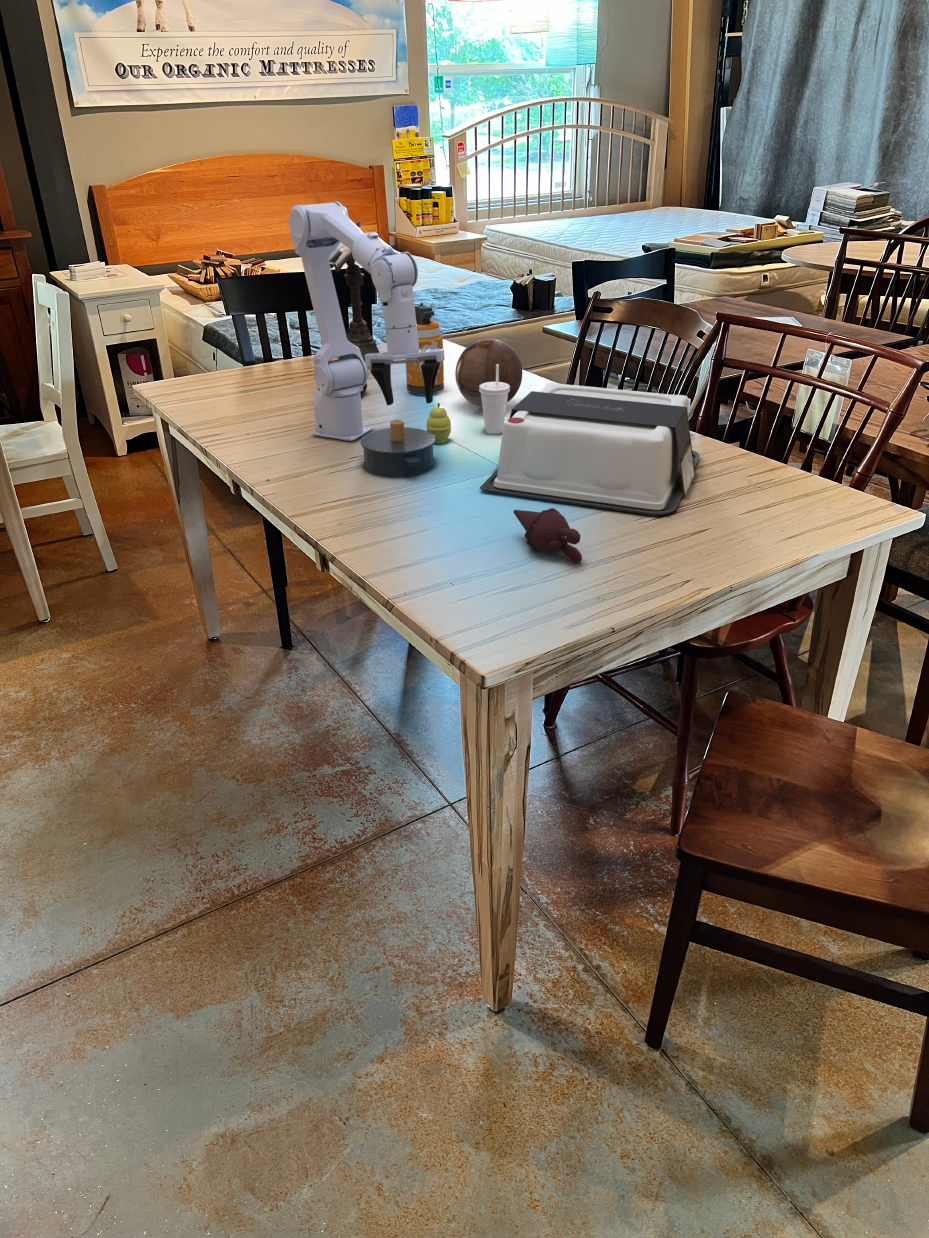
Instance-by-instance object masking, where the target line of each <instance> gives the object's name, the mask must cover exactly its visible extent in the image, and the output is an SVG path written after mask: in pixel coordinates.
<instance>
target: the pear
mask: <svg viewBox="0 0 929 1238" xmlns="http://www.w3.org/2000/svg"><path fill="white" fill-rule="evenodd" d="M425 423H426V431H428V432H430V433H432V434H433V435H434V437H435V443H434V444H439V445H440V444H445V443H447V442H448V438H449V437H450V435H451V431H452V423H451V419H450V417H449V416H448V413H447V411H446V409H445V408H444V407H443V406H441V403H440V402H438V403H437V406H434V407H432V409H431V410H430V412H429V416H428V417H427V419H426V422H425Z"/></svg>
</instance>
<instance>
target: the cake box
mask: <svg viewBox="0 0 929 1238" xmlns="http://www.w3.org/2000/svg"><path fill="white" fill-rule="evenodd" d="M499 448H500V449H499V455H498V464H497V468H496V470H495V471H494V472H493V473H492V474H491V475H490V476H489V477H488V478H487V479H486V480H485V481H484V482H483V483H482V484H481V485H480V486H479V489H480V490H483V491H489V492H493V493H496V494H501V495H508V496H514V497H522V498H530V499H534V500H535V499H536V500H543V501H550V502H557V503H562V504H563V503H564V504H571V505H578V506H585V507H592V508H599V509H607V510H614V511H619V512H620V511H621V512H626V513H633V514H640V515H649V516H664V515H668V514H670V513H672V512H674V511H676V509H677V508H678V506H679V503H680V502H681V500H682V499H684V498H685V497H686V496H687V493H688V491H689V488H690V486H691V484H692V482H693V480H694V478H695V476H696V471H695V470H696V466H697V464H698V462H699V461H700V460H699V459H700V457H701V456H700V453H699V452H697V451H695V450H693V446H692V438H691V429H690V422H689V397H688V396H687V395H685V394H684V395H683V394H666V393H657V392H647V391H646V392H645V391H637V390H627V389H619V388H618V389H616V388H607V387H597V386H589V385H588V386H586V385H575V384H566V383H558V382H547V383H545V386H544V387H543V388H542V389H540V390H539V391H536V390H535V391H534V390H531V391H530V392H529V393H527V395H526V396H524V397H523V398H522V399H521V400H520V401H519V402H518V403H517V404H516V405H514V406H513V407H512V408H511V411H510V415H509V418H508V419H507V420H504V427H503V432H502V433H501V441H500V447H499Z"/></svg>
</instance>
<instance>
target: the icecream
mask: <svg viewBox="0 0 929 1238" xmlns="http://www.w3.org/2000/svg"><path fill="white" fill-rule="evenodd" d="M512 512H513V515H514V516H515V517H516V519H517V520H518V522H519V523H520V525H521V526H522V527H523V530H525V533H524V538H525V540H526V545H528V546H529V547H530V548H531V549H532V550H534V551H536V550H538V551H540V552H542V553H557V552H559V551H561V553H562V554H563V555H564V556H566V558H568V560H570V561H571V562H573V563H574V564H579V563H581V562H582V560H583V556H582V553H581V552H580V551H579V549H578V548H577V547H575V546H576V545H578V544H579V543H580V540H581V534H580V533H579V532H580V531H578V530H577V529H576V528H575V529H574V528H571V527H570V525H569V523H568V521H567V519H566V517H565V516H564V515H563V514H562V513H560V511H559V510H557V509H556V508H553V507H552V508H548V509H544V510H541V511H532V510H523V509H514V510H513V511H512ZM573 545H575V546H573Z"/></svg>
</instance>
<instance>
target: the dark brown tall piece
mask: <svg viewBox="0 0 929 1238" xmlns="http://www.w3.org/2000/svg"><path fill="white" fill-rule="evenodd" d="M354 224H355V225H356V226H357V227H358V228H359V229H360V227H362V222H361V221H357V222H354ZM329 264H330V268H331V270H333V269H334V270H335V273H337V274H338V273H339V272H340V271H341V270H342V268H343V267H344V265H345V264H346V266H347V267H346V269H345V271H346V273H345V274H344V276H343V277H344V279H345V280H346V281H345V285H346V287H349V291H350V304H349V305H350V307H351V315H352V320H351V321H350V322H349V324H348V329H347V333H346V337H347V340H348V341H349V342H350V343H352V344H353V345H355V346H357V347H358V348H359V349H360V352H361V355H362V358H363V360H364V362H365V355H366V354H371V353H381V352H380V350H379V347H378V346H377V343H376V342H377V340H375V339H374V336H373V335H372V334H371V332H370V330H369V327H368V322H366V321H365V320H364V319H363V313H362V305H363V302H362V300H361V287H362V286H364V280H363V279H364V277H365V274H364V273H362V268H361V266H360V264H357V263H356V261H355V260H354V258H353V255H352V250H351V249H350V248H349V247H347V246H346V245H344V244H343V243H341V242H340V244H339V245H338V247H337V248H336V250H334V251H333V252H331V254H330V256H329ZM343 358H346V357H344V356H341V357H337V360H338V359H343ZM367 369H372V366H367Z"/></svg>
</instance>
